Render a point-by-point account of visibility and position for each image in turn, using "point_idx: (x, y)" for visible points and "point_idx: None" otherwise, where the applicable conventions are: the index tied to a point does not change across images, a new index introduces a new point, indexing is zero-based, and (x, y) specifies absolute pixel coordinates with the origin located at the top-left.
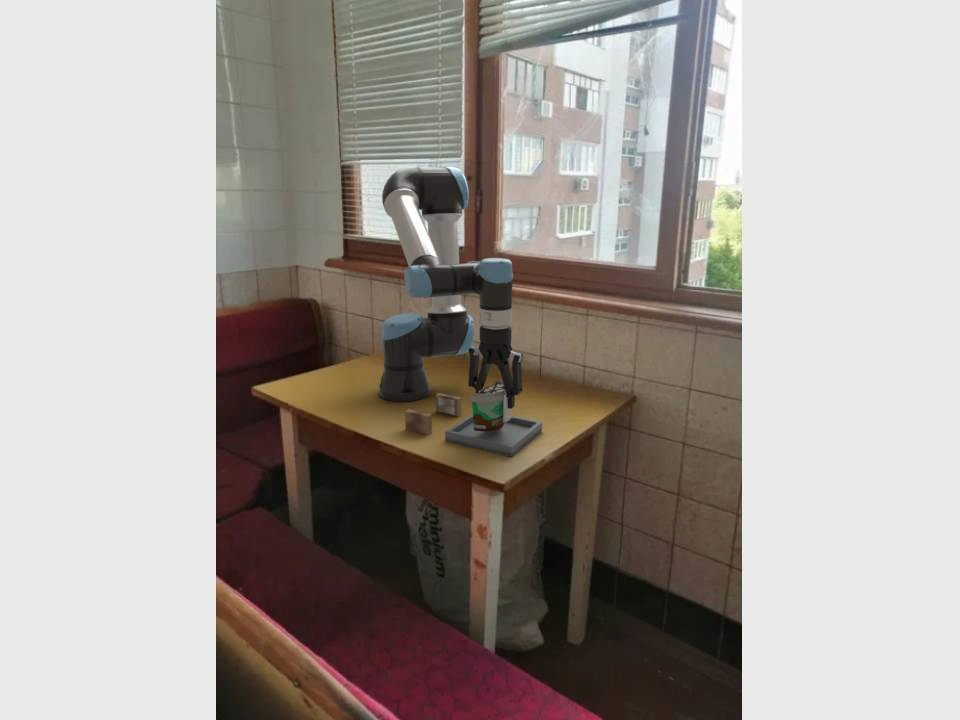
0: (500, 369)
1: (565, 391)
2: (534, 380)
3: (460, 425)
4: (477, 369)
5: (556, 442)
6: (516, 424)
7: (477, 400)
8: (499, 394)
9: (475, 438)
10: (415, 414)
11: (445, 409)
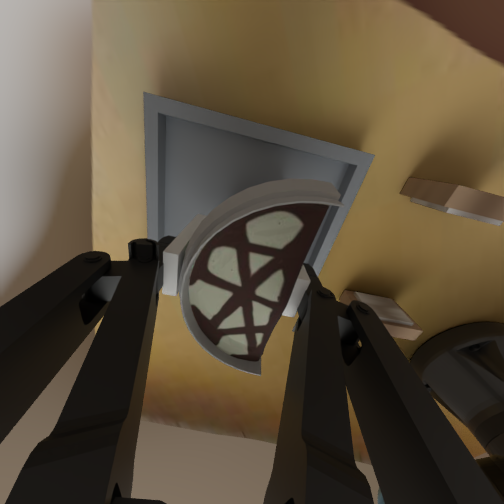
0: (104, 423)
1: (190, 402)
2: (245, 421)
3: (333, 215)
4: (363, 413)
5: (106, 226)
6: None
7: (294, 182)
8: (193, 252)
9: (272, 127)
10: (499, 196)
11: (379, 300)
